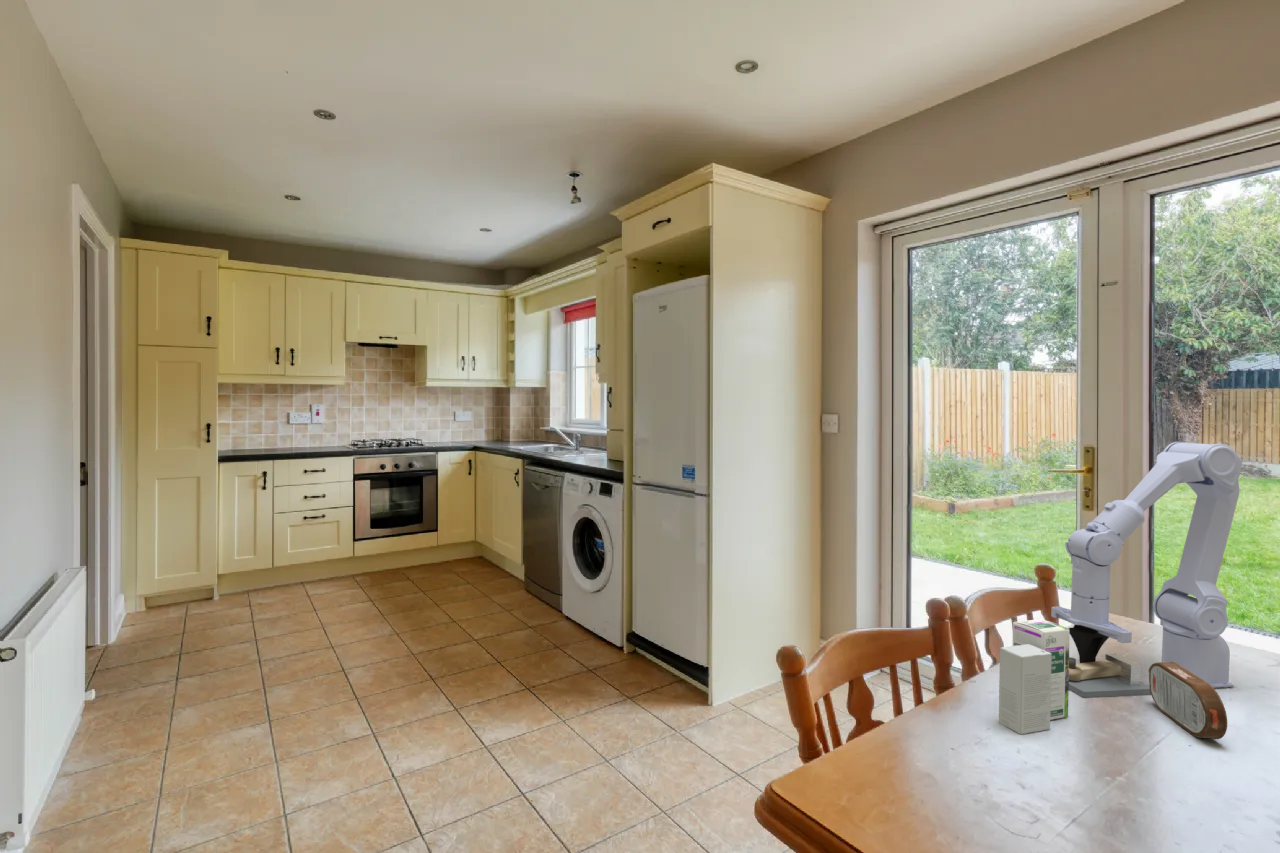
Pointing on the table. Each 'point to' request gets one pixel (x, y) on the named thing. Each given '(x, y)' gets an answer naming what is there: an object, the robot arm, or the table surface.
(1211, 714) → the tin
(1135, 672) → the steel keeper
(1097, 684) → the slate board
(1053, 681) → the syrup box
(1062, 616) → the robot arm
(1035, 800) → the table surface
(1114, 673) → the beech link
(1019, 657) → the skincare box
